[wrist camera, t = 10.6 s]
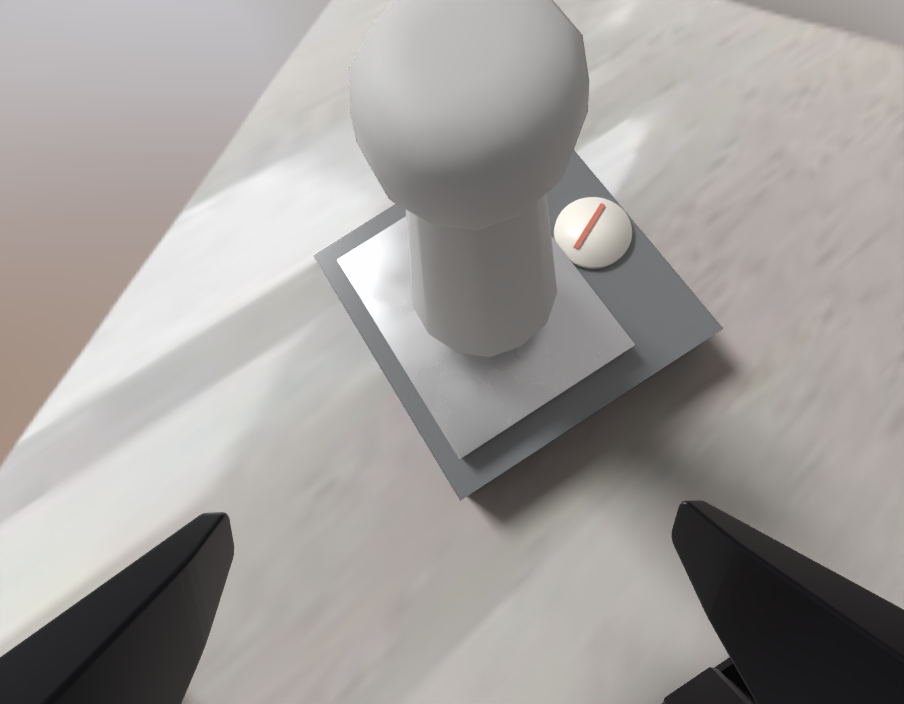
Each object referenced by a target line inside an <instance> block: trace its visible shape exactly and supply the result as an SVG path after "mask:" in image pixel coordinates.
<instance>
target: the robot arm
mask: <svg viewBox="0 0 904 704" xmlns="http://www.w3.org/2000/svg"><path fill="white" fill-rule="evenodd" d="M672 541H673V544H674V546H675V549H676V551H677V553H678V555H679V557H680V559H681V562H682V564H683V566H684V568H685V570H686V572H687V574H688V577H689V579H690V581H691V583H692V585H693V587H694V590H695V592H696V594H697V596H698V598H699V600H700V602H701V605H702V607H703V609H704V611H705V613H706V615H707V617H708V619H709V621H710V622H711V624H712V626H713V628H714V630H715V632H716V633H717V635H718V637H719V639H720V640H721V642H722V644H723V646H724V647H725V649H726V651H727V653H728V654H729V656H730V658H728V659H727V660H725V661H724V662H722V663H721V664H719V665H718V666H716V667H715V668H711V667H710V668H708V669H706V670H705V671H703V672H702V673H700V674H699V675H697V676H696V677H695V678H693V679H692V680H690V681H689V682H687V683H686V684H684V685H683V686H681V687H680V688H678V689H677V690H675V691H674V692H673V693H671V694H670V695H668V696H667V697H665V698H664V702H663V703H662V704H904V610H903V609H902V608H900V607H898V606H896V605H894V604H892V603H890V602H889V601H887V600H885V599H883V598H881V597H879V596H878V595H876V594H874V593H872V592H870V591H868V590H866V589H865V588H863V587H861V586H859V585H857V584H855V583H854V582H852V581H850V580H848V579H846V578H844V577H843V576H841V575H839V574H837V573H835V572H833V571H831V570H830V569H828V568H826V567H824V566H822V565H820V564H819V563H817V562H815V561H813V560H811V559H809V558H808V557H806V556H804V555H802V554H800V553H798V552H796V551H795V550H793V549H791V548H789V547H787V546H785V545H784V544H782V543H780V542H778V541H776V540H774V539H773V538H771V537H769V536H767V535H765V534H763V533H761V532H760V531H758V530H756V529H754V528H752V527H750V526H749V525H747V524H745V523H743V522H741V521H739V520H738V519H736V518H734V517H732V516H730V515H728V514H727V513H725V512H723V511H721V510H719V509H717V508H715V507H714V506H712V505H710V504H708V503H706V502H704V501H699V500H698V501H684V502H682V503H681V504H680V505H679V508H678V512H677V515H676V518H675V522H674V525H673V529H672ZM233 555H234V543H233V537H232V531H231V525H230V519H229V516H228V515H227V514H226V513H224V512H215V513H203V514H201V515H199V516H198V517H197V518H195V519H194V520H192V521H191V522H190V523H188V524H187V525H185V526H184V527H182V528H181V529H180V530H178V531H177V532H175V533H174V534H173V535H171V536H170V537H168V538H167V539H166V540H164V541H163V542H161V543H160V544H159V545H157V546H156V547H154V548H153V549H152V550H150V551H149V552H147V553H146V554H145V555H143V556H142V557H140V558H139V559H138V560H136V561H135V562H133V563H132V564H131V565H129V566H128V567H126V568H125V569H124V570H122V571H121V572H119V573H118V574H117V575H115V576H114V577H112V578H111V579H110V580H108V581H107V582H105V583H104V584H102V585H101V586H100V587H98V588H97V589H95V590H94V591H93V592H91V593H90V594H88V595H87V596H86V597H84V598H83V599H81V600H80V601H79V602H77V603H76V604H74V605H73V606H72V607H70V608H69V609H67V610H66V611H65V612H63V613H62V614H60V615H59V616H58V617H56V618H55V619H53V620H52V621H51V622H49V623H48V624H46V625H45V626H44V627H42V628H41V629H39V630H38V631H37V632H35V633H34V634H32V635H31V636H30V637H28V638H27V639H25V640H24V641H22V642H21V643H20V644H18V645H17V646H15V647H14V648H13V649H11V650H10V651H8V652H7V653H6V654H4V655H3V656H1V657H0V704H181V703H182V700H183V698H184V696H185V693H186V691H187V689H188V686H189V684H190V682H191V679H192V677H193V675H194V672H195V670H196V668H197V665H198V663H199V660H200V658H201V655H202V653H203V650H204V648H205V645H206V642H207V639H208V636H209V633H210V630H211V627H212V624H213V621H214V618H215V614H216V611H217V608H218V605H219V602H220V598H221V595H222V592H223V589H224V586H225V582H226V579H227V576H228V573H229V570H230V567H231V563H232V560H233Z"/></svg>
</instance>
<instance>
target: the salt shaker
mask: <svg viewBox="0 0 904 704" xmlns="http://www.w3.org/2000/svg"><path fill="white" fill-rule="evenodd" d="M349 82H350V111H351V118H352V123H353V127H354V132H355V137H356V142H357V143H358V145H359V147H360V149H361V151H362V153H363V155H364V156H365V158H366V160H367V162H368V164H369V165H370V167H371V169H372V171H373V172H374V174H375V176H376V177H377V179H378V181H379V183H380V184H381V186H382V188H383V189H384V191H385V193H386V195H387V196H388V198H389V199H390V200H391V201H393V202H394V203H396V204H397V205H399V206H400V207H402V208H404V209H406V219H407V231H408V243H409V255H410V267H411V281H412V300H413V308H414V310H415V311H416V313H417V315H418V317H419V318H420V320H421V322H422V324H423V325H424V327H425V329H426V331H427V332H428V334H429V335H431V336H432V337H434V338H435V339H437V340H438V341H440V342H441V343H443V344H445V345H446V346H448V347H449V348H451V349H452V350H454V351H455V352H457V353H464V354H471V355H477V356H484V357H491V356H494V355H497V354H500V353H503V352H506V351H509V350H512V349H515V348H518V347H521V346H522V345H523V344H524V343H525V342H527V341H528V340H529V339H530V338H531V337H532V336H533V335H534V334H536V333H537V332H538V331H539V330H540V329H541V328H542V327H543V326H544V325H546V324H547V321H548V318H549V315H550V313H551V310H552V307H553V304H554V301H555V298H556V295H557V285H556V275H555V265H554V256H553V246H552V237H551V227H550V218H549V208H548V199H547V192H549V191H550V190H551V189H552V188H553V187H554V186H555V185H556V184H557V183H558V182H560V181H561V180H562V179H563V176H564V173H565V171H566V168H567V166H568V163H569V160H570V158H571V155H572V152H573V150H574V147H575V144H576V142H577V139H578V136H579V134H580V131H581V128H582V126H583V123H584V120H585V118H586V115H587V112H588V96H589V76H588V69H587V63H586V56H585V49H584V42H583V35H582V34H581V33H580V32H579V30H578V29H577V28H576V27H575V26H574V24H573V23H572V22H571V21H570V20H569V19H568V17H567V16H566V15H565V14H564V13H563V11H562V10H561V9H560V8H559V7H558V6H557V4H556V3H555V2H554V1H553V0H396V1H395V2H394V3H392V4H391V5H390V6H389V7H388V8H387V9H385V10H384V11H383V12H382V13H381V14H380V15H379V16H378V17H377V18H376V20H375V21H374V23H373V24H372V25H371V27H370V29H369V31H368V33H367V34H366V36H365V38H364V40H363V42H362V44H361V46H360V48H359V50H358V52H357V54H356V56H355V58H354V60H353V62H352V64H351V66H350V67H349Z"/></svg>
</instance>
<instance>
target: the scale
mask: <svg viewBox="0 0 904 704" xmlns="http://www.w3.org/2000/svg"><path fill="white" fill-rule="evenodd" d="M547 199H548V208H549V218H550V227H551V236H552V237H553V239H554V240H555V241H556V243H557V244H558V245H559V246H560V248H561V249H562V250H563V252H564V253H565V254H566V256H567V257H568V258H569V259H570V261H571V262H572V263H573V265H574V266H575V267H576V269H577V270H578V271H579V272H580V274H581V275H582V276H583V278H584V279H585V280H586V282H587V283H588V284H589V285H590V287H591V288H592V289H593V291H594V292H595V293H596V294H597V296H598V297H599V298H600V300H601V301H602V302H603V304H604V305H605V306H606V307H607V309H608V310H609V311H610V313H611V314H612V315H613V317H614V318H615V319H616V320H617V322H618V323H619V324H620V326H621V327H622V328H623V329H624V331H625V332H626V333H627V335H628V336H629V337H630V339H631V340H632V341H633V342H634V344H635V345H634V346H633V347H631V348H630V349H628V350H627V351H625V352H624V353H622V354H621V355H619V356H618V357H616V358H615V359H613V360H612V361H610V362H608V363H607V364H605V365H604V366H602V367H601V368H599V369H598V370H596V371H595V372H593V373H592V374H590V375H588V376H587V377H585V378H584V379H582V380H581V381H579V382H578V383H576V384H575V385H573V386H572V387H570V388H568V389H567V390H565V391H564V392H562V393H561V394H559V395H558V396H556V397H555V398H553V399H552V400H550V401H549V402H547V403H545V404H544V405H542V406H541V407H539V408H538V409H536V410H535V411H533V412H532V413H530V414H529V415H527V416H525V417H524V418H522V419H521V420H519V421H518V422H516V423H515V424H513V425H512V426H510V427H509V428H507V429H505V430H504V431H502V432H501V433H499V434H498V435H496V436H495V437H493V438H492V439H490V440H489V441H487V442H486V443H484V444H482V445H481V446H479V447H478V448H476V449H475V450H473V451H472V452H470V453H469V454H467V455H466V456H464V457H462V458H461V459H459V458H458V456H457V455H456V453H455V452H454V450H453V448H452V447H451V445H450V443H449V442H448V440H447V439H446V437H445V435H444V434H443V432H442V430H441V429H440V427H439V426H438V424H437V422H436V421H435V419H434V417H433V416H432V414H431V412H430V411H429V409H428V408H427V406H426V404H425V403H424V401H423V399H422V398H421V396H420V395H419V393H418V391H417V390H416V388H415V386H414V385H413V383H412V382H411V380H410V378H409V377H408V375H407V373H406V372H405V370H404V368H403V367H402V365H401V364H400V362H399V360H398V359H397V357H396V355H395V354H394V352H393V351H392V349H391V347H390V346H389V344H388V342H387V341H386V339H385V338H384V336H383V334H382V333H381V331H380V329H379V328H378V326H377V324H376V323H375V321H374V320H373V318H372V316H371V315H370V313H369V311H368V310H367V308H366V307H365V305H364V303H363V302H362V300H361V298H360V297H359V295H358V294H357V292H356V290H355V289H354V287H353V285H352V284H351V282H350V281H349V279H348V277H347V276H346V274H345V272H344V271H343V269H342V267H341V266H340V264H339V263H338V261H337V259H339V258H340V257H342V256H344V255H345V254H347V253H348V252H350V251H351V250H353V249H355V248H356V247H358V246H359V245H361V244H363V243H364V242H366V241H367V240H369V239H371V238H372V237H374V236H375V235H377V234H379V233H380V232H382V231H383V230H385V229H386V228H388V227H390V226H391V225H393V224H394V223H396V222H398V221H399V220H401V219H402V218H404V217H406V209H404V208H402V207H400V206H399V205H397V204H395V205H393V206H392V207H390V208H389V209H387V210H385V211H384V212H382V213H381V214H379V215H377V216H376V217H374V218H373V219H371V220H369V221H368V222H366V223H365V224H363V225H361V226H360V227H358V228H357V229H355V230H353V231H352V232H350V233H349V234H347V235H345V236H344V237H342V238H341V239H339V240H338V241H336V242H334V243H333V244H331V245H330V246H328V247H326V248H325V249H323V250H322V251H320V252H318V253H317V254H315V255H314V258H315V259H316V261H317V263H318V264H319V266H320V268H321V269H322V271H323V273H324V274H325V276H326V278H327V279H328V281H329V283H330V284H331V286H332V288H333V289H334V291H335V293H336V294H337V296H338V298H339V299H340V301H341V303H342V304H343V306H344V308H345V309H346V311H347V313H348V314H349V316H350V318H351V319H352V321H353V323H354V324H355V326H356V328H357V329H358V331H359V333H360V334H361V336H362V338H363V339H364V341H365V343H366V344H367V346H368V348H369V349H370V351H371V353H372V354H373V356H374V358H375V359H376V361H377V363H378V364H379V366H380V368H381V369H382V371H383V373H384V374H385V376H386V378H387V379H388V381H389V383H390V384H391V386H392V388H393V389H394V391H395V393H396V394H397V396H398V398H399V399H400V401H401V403H402V404H403V406H404V408H405V409H406V411H407V413H408V414H409V416H410V418H411V419H412V421H413V423H414V424H415V426H416V428H417V429H418V431H419V433H420V434H421V436H422V438H423V439H424V441H425V443H426V444H427V446H428V448H429V449H430V451H431V453H432V454H433V456H434V458H435V459H436V461H437V463H438V464H439V466H440V468H441V469H442V471H443V473H444V474H445V476H446V478H447V479H448V481H449V483H450V484H451V486H452V488H453V489H454V491H455V493H456V494H457V496H458V498H459V499H460V501H461V500H462V499H464V498H465V497H467V496H468V495H470V494H471V493H473V492H474V491H476V490H478V489H479V488H481V487H482V486H484V485H485V484H487V483H488V482H490V481H491V480H493V479H494V478H496V477H497V476H499V475H500V474H502V473H504V472H505V471H507V470H508V469H510V468H511V467H513V466H514V465H516V464H517V463H519V462H520V461H522V460H523V459H525V458H526V457H528V456H530V455H531V454H533V453H534V452H536V451H537V450H539V449H540V448H542V447H543V446H545V445H546V444H548V443H549V442H551V441H552V440H554V439H556V438H557V437H559V436H560V435H562V434H563V433H565V432H566V431H568V430H569V429H571V428H572V427H574V426H575V425H577V424H578V423H580V422H581V421H583V420H585V419H586V418H588V417H589V416H591V415H592V414H594V413H595V412H597V411H598V410H600V409H601V408H603V407H604V406H606V405H607V404H609V403H611V402H612V401H614V400H615V399H617V398H618V397H620V396H621V395H623V394H624V393H626V392H627V391H629V390H630V389H632V388H633V387H635V386H637V385H638V384H640V383H641V382H643V381H644V380H646V379H647V378H649V377H650V376H652V375H653V374H655V373H656V372H658V371H659V370H661V369H663V368H664V367H666V366H667V365H669V364H670V363H672V362H673V361H675V360H676V359H678V358H679V357H681V356H682V355H684V354H685V353H687V352H688V351H690V350H692V349H693V348H695V347H696V346H698V345H699V344H701V343H702V342H704V341H705V340H707V339H708V338H710V337H711V336H713V335H714V334H716V333H718V332H719V331H721V330H722V329H723V328H722V327H721V325H720V324H719V323H718V322H717V321H716V319H715V318H714V317H713V316H712V315H711V313H710V312H709V311H708V310H707V309H706V307H705V306H704V305H703V304H702V303H701V301H700V300H699V299H698V298H697V297H696V295H695V294H694V293H693V292H692V291H691V290H690V288H689V287H688V286H687V285H686V284H685V282H684V281H683V280H682V279H681V278H680V276H679V275H678V274H677V273H676V272H675V270H674V269H673V268H672V267H671V266H670V264H669V263H668V262H667V261H666V260H665V258H664V257H663V256H662V255H661V254H660V252H659V251H658V250H657V249H656V248H655V246H654V245H653V244H652V243H651V242H650V240H649V239H648V238H647V237H646V236H645V234H644V233H643V232H642V231H641V230H640V229H639V227H638V226H637V225H636V224H635V223H634V221H633V220H632V219H631V218H630V217H629V215H628V214H627V213H626V212H625V211H624V209H623V208H622V207H621V206H620V205H619V203H618V202H617V201H616V200H615V199H614V197H613V196H612V195H611V194H610V193H609V191H608V190H607V189H606V188H605V187H604V185H603V184H602V183H601V182H600V181H599V179H598V178H597V177H596V176H595V175H594V174H593V172H592V171H591V170H590V169H589V168H588V166H587V165H586V164H585V163H584V162H583V160H582V159H581V158H580V157H579V156H578V154H577V153H576V152H575V151H574V150H573V152H572V155H571V158H570V160H569V163H568V166H567V168H566V171H565V173H564V176H563V179H562V180H561V181H560V182H558V183H557V184H556V185H555V186H554V187H553V188H552V189H551V190H550V191H549V192H547Z"/></svg>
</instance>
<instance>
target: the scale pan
mask: <svg viewBox="0 0 904 704" xmlns="http://www.w3.org/2000/svg"><path fill="white" fill-rule="evenodd" d="M551 237H552V236H551ZM552 246H553V256H554V265H555V275H556V285H557V295H556V298H555V301H554V304H553V307H552V310H551V313H550V315H549V318H548V321H547V324H546V325H544V326H543V327H542V328H541V329H540V330H539V331H538V332H537V333H536V334H534V335H533V336H532V337H531V338H530V339H529V340H528V341H527V342H525V343H524V344H523V345H522V346H521V347H518V348H515V349H512V350H509V351H506V352H503V353H500V354H497V355H494V356H491V357H484V356H477V355H471V354H464V353H457V352H455V351H454V350H452V349H451V348H449V347H448V346H446V345H445V344H443V343H441V342H440V341H438V340H437V339H435V338H434V337H432V336H431V335H429V334H428V332H427V331H426V329H425V327H424V325H423V324H422V322H421V320H420V318H419V317H418V315H417V313H416V311H415V310H414V308H413V300H412V281H411V267H410V255H409V243H408V231H407V219H406V217H404V218H402V219H401V220H399V221H398V222H396V223H394V224H393V225H391V226H390V227H388V228H386V229H385V230H383V231H382V232H380V233H379V234H377V235H375V236H374V237H372V238H371V239H369V240H367V241H366V242H364V243H363V244H361V245H359V246H358V247H356V248H355V249H353V250H351V251H350V252H348V253H347V254H345V255H344V256H342V257H340V258H339V259H337V261H338V263H339V264H340V266H341V267H342V269H343V271H344V272H345V274H346V276H347V277H348V279H349V281H350V282H351V284H352V285H353V287H354V289H355V290H356V292H357V294H358V295H359V297H360V298H361V300H362V302H363V303H364V305H365V307H366V308H367V310H368V311H369V313H370V315H371V316H372V318H373V320H374V321H375V323H376V324H377V326H378V328H379V329H380V331H381V333H382V334H383V336H384V338H385V339H386V341H387V342H388V344H389V346H390V347H391V349H392V351H393V352H394V354H395V355H396V357H397V359H398V360H399V362H400V364H401V365H402V367H403V368H404V370H405V372H406V373H407V375H408V377H409V378H410V380H411V382H412V383H413V385H414V386H415V388H416V390H417V391H418V393H419V395H420V396H421V398H422V399H423V401H424V403H425V404H426V406H427V408H428V409H429V411H430V412H431V414H432V416H433V417H434V419H435V421H436V422H437V424H438V426H439V427H440V429H441V430H442V432H443V434H444V435H445V437H446V439H447V440H448V442H449V443H450V445H451V447H452V448H453V450H454V452H455V453H456V455H457V456H458V458H459V459H461V458H462V457H464V456H466V455H467V454H469V453H470V452H472V451H473V450H475V449H476V448H478V447H479V446H481V445H482V444H484V443H486V442H487V441H489V440H490V439H492V438H493V437H495V436H496V435H498V434H499V433H501V432H502V431H504V430H505V429H507V428H509V427H510V426H512V425H513V424H515V423H516V422H518V421H519V420H521V419H522V418H524V417H525V416H527V415H529V414H530V413H532V412H533V411H535V410H536V409H538V408H539V407H541V406H542V405H544V404H545V403H547V402H549V401H550V400H552V399H553V398H555V397H556V396H558V395H559V394H561V393H562V392H564V391H565V390H567V389H568V388H570V387H572V386H573V385H575V384H576V383H578V382H579V381H581V380H582V379H584V378H585V377H587V376H588V375H590V374H592V373H593V372H595V371H596V370H598V369H599V368H601V367H602V366H604V365H605V364H607V363H608V362H610V361H612V360H613V359H615V358H616V357H618V356H619V355H621V354H622V353H624V352H625V351H627V350H628V349H630V348H631V347H633V346H634V345H635V344H634V342H633V341H632V340H631V339H630V337H629V336H628V335H627V333H626V332H625V331H624V329H623V328H622V327H621V326H620V324H619V323H618V322H617V320H616V319H615V318H614V317H613V315H612V314H611V313H610V311H609V310H608V309H607V307H606V306H605V305H604V304H603V302H602V301H601V300H600V298H599V297H598V296H597V294H596V293H595V292H594V291H593V289H592V288H591V287H590V285H589V284H588V283H587V282H586V280H585V279H584V278H583V276H582V275H581V274H580V272H579V271H578V270H577V269H576V267H575V266H574V265H573V263H572V262H571V261H570V259H569V258H568V257H567V256H566V254H565V253H564V252H563V250H562V249H561V248H560V246H559V245H558V244H557V243H556V241H555V240H554V239H553V237H552Z"/></svg>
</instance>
